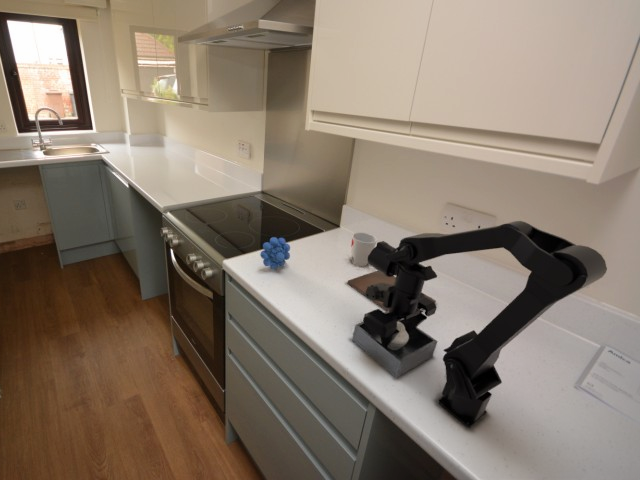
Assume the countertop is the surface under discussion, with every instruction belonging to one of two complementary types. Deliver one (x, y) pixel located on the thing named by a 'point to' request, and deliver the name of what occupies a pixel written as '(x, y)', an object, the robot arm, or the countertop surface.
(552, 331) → the countertop surface
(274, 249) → the grapes
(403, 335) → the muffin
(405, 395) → the countertop surface
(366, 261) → the cup
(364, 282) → the board
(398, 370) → the dark grey open box
